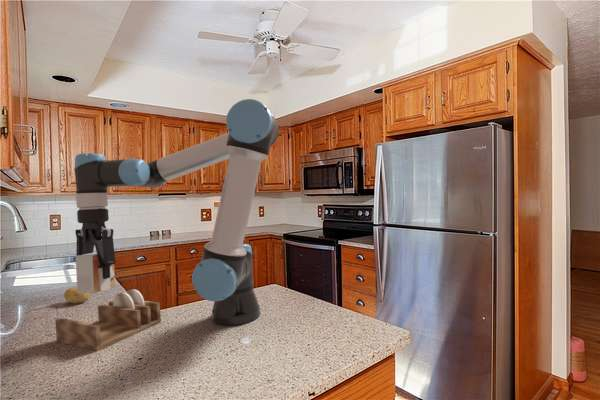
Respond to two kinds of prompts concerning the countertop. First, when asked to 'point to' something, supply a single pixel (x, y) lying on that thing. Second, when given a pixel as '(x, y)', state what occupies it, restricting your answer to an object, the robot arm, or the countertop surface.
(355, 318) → the countertop surface
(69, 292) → the potato
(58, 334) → the rack
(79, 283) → the small box
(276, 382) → the countertop surface
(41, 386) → the countertop surface
